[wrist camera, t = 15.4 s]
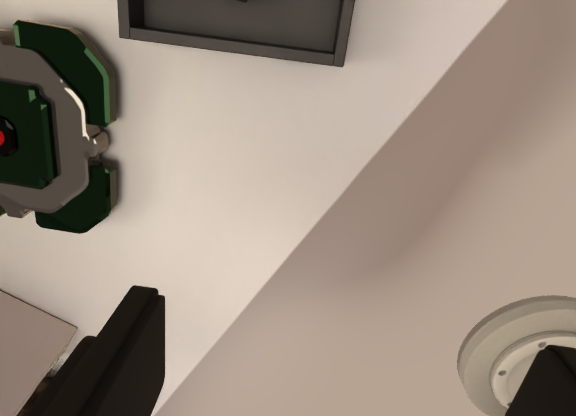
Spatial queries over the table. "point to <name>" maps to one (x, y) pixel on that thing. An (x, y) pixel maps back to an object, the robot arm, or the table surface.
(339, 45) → the tray
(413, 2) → the table surface
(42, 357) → the game console
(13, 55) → the four-lobed dark green device
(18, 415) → the sculpture
